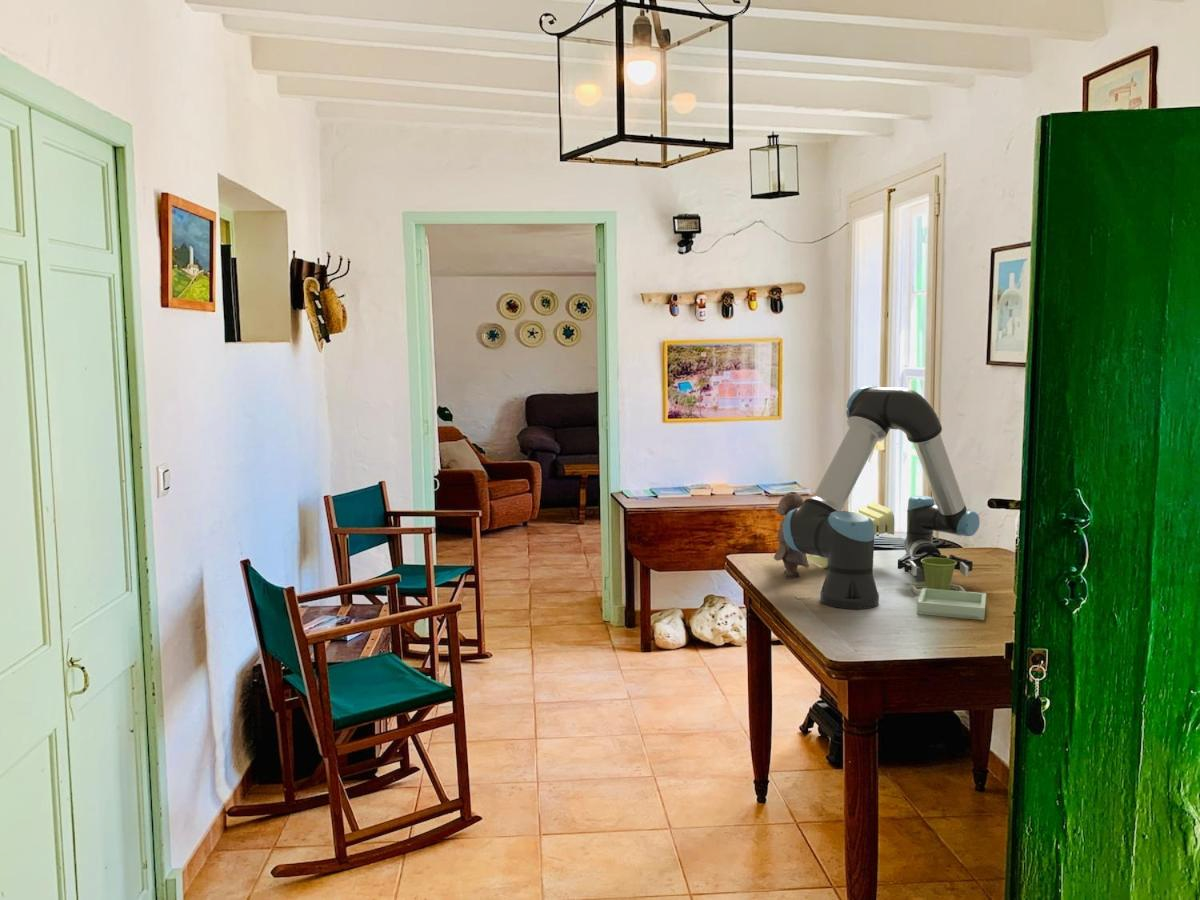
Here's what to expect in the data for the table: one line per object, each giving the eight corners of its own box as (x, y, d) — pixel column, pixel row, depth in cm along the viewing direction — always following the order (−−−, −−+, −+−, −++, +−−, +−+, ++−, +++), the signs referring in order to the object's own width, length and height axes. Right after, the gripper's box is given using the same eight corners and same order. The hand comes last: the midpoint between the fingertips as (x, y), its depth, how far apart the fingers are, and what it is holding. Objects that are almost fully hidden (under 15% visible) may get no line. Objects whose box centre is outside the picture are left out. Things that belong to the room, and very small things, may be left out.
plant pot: (932, 597, 279) (933, 565, 278) (913, 589, 288) (914, 558, 287) (962, 595, 281) (963, 563, 280) (942, 586, 290) (943, 556, 289)
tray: (984, 620, 256) (984, 608, 256) (917, 613, 262) (917, 602, 262) (985, 604, 271) (986, 593, 271) (922, 598, 277) (922, 587, 277)
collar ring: (945, 600, 275) (945, 596, 275) (901, 590, 285) (901, 586, 285) (973, 592, 283) (973, 588, 283) (930, 583, 294) (930, 579, 294)
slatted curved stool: (798, 571, 309) (799, 513, 307) (780, 560, 324) (781, 504, 322) (893, 568, 313) (894, 510, 311) (871, 557, 329) (872, 501, 327)
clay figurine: (773, 570, 310) (775, 488, 307) (807, 572, 308) (809, 489, 305) (773, 581, 297) (775, 495, 294) (809, 582, 295) (811, 495, 293)
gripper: (969, 568, 300) (987, 586, 280) (881, 566, 303) (893, 583, 282) (970, 543, 300) (989, 559, 279) (882, 541, 302) (894, 556, 282)
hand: (940, 571), depth 280 cm, fingers open, 13 cm apart
